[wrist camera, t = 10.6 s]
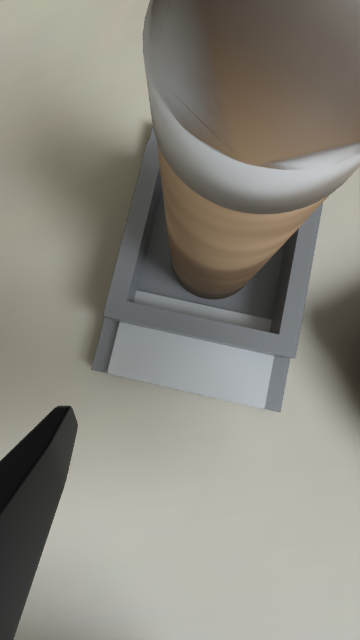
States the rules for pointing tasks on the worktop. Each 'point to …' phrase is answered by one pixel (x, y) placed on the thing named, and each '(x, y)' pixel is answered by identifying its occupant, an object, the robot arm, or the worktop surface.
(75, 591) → the worktop surface
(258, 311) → the cradle
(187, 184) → the round tan cylinder
